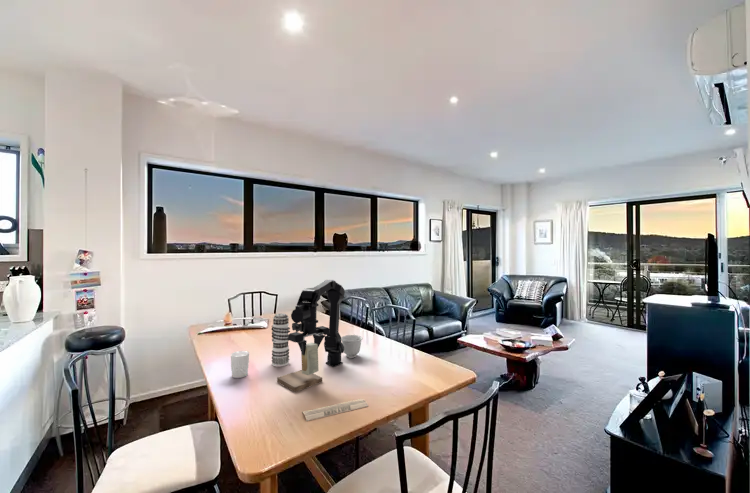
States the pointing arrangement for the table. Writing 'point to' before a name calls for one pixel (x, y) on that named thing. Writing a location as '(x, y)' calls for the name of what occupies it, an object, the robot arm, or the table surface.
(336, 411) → the newspaper
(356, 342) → the teacup
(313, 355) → the skincare box
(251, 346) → the table surface
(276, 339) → the decorative candle
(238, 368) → the white cup
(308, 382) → the walnut block
